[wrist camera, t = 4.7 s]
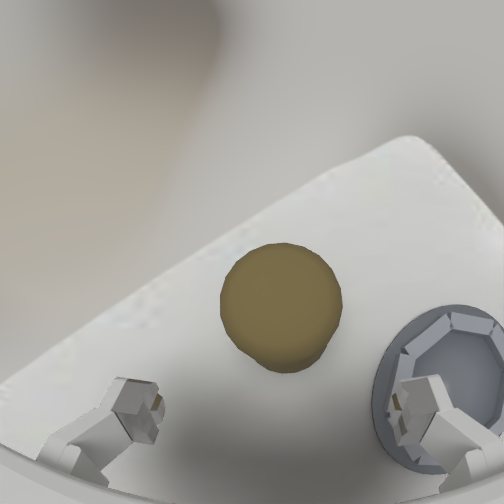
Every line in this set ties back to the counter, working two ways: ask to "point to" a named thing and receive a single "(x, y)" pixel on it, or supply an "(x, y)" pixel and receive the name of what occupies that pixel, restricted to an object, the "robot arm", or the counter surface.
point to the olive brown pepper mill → (281, 306)
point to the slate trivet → (444, 373)
